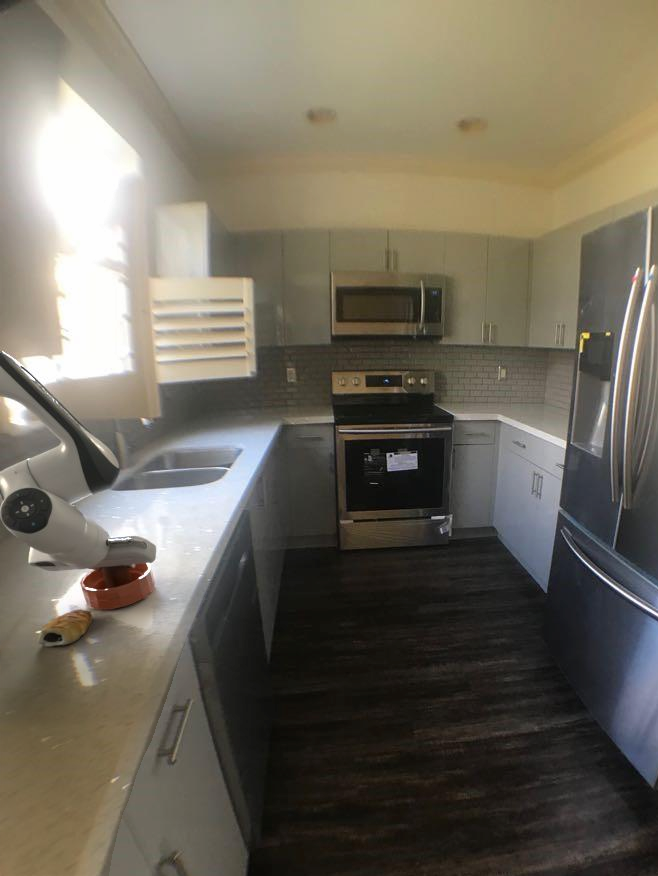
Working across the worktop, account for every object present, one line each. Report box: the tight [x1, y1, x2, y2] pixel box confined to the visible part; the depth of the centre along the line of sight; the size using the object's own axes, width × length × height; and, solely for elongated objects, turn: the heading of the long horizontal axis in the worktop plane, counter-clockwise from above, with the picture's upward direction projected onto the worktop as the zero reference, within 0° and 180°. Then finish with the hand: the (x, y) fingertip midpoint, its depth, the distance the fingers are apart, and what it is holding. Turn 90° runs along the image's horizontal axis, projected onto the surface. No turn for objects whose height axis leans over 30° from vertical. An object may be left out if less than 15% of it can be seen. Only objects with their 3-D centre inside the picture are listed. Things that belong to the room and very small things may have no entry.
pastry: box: [37, 609, 93, 648], centre depth 85 cm, size 9×7×4 cm
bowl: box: [79, 563, 156, 610], centre depth 97 cm, size 13×13×5 cm
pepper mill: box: [101, 565, 133, 589], centre depth 96 cm, size 5×5×11 cm
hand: (116, 565), depth 96 cm, fingers closed on pepper mill, 5 cm apart
